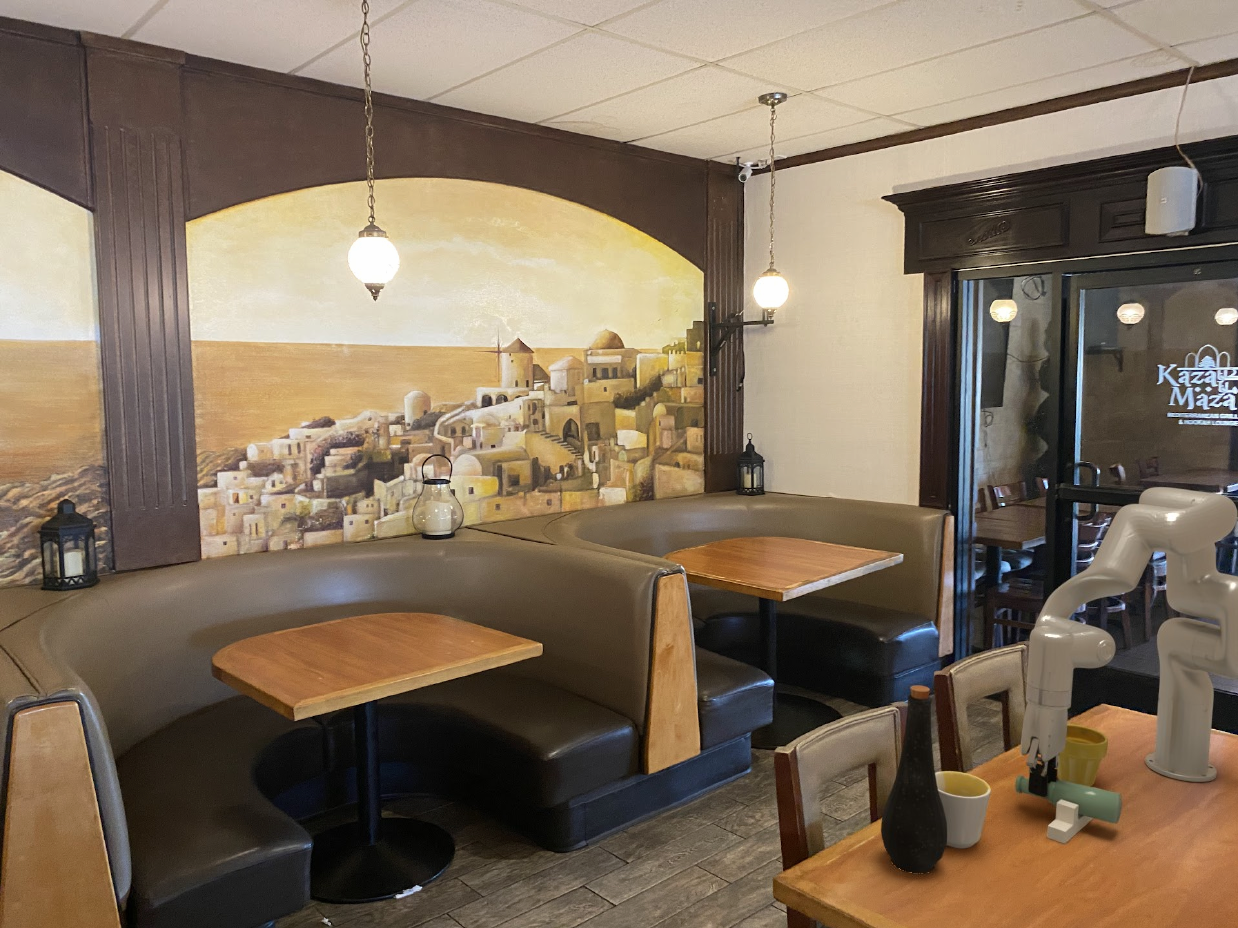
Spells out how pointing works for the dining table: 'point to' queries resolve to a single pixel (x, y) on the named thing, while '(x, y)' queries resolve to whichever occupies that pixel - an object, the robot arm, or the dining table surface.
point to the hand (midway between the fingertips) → (1042, 789)
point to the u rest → (1066, 822)
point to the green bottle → (1080, 798)
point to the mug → (963, 806)
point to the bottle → (915, 796)
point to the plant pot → (1082, 755)
